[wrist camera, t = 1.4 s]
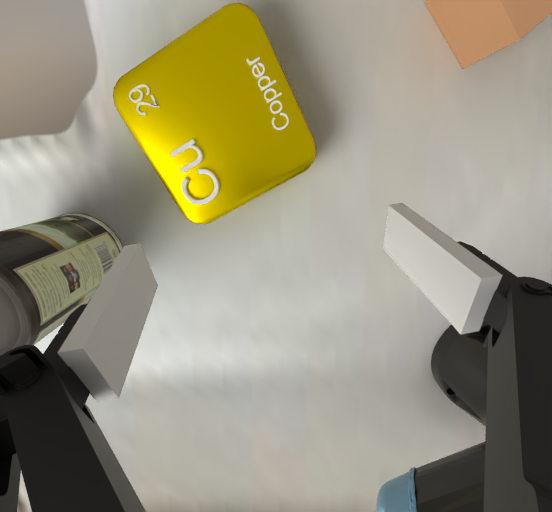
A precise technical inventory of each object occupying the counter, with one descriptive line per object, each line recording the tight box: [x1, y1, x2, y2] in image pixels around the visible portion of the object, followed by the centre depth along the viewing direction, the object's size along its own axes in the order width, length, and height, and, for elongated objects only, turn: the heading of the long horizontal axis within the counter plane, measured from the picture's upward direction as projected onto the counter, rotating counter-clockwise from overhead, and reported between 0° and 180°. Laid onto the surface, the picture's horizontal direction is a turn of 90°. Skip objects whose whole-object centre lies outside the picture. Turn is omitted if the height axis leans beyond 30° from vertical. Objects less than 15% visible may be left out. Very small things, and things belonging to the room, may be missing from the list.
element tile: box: [113, 3, 316, 224], centre depth 28 cm, size 15×15×5 cm
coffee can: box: [0, 213, 123, 356], centre depth 28 cm, size 10×10×14 cm
